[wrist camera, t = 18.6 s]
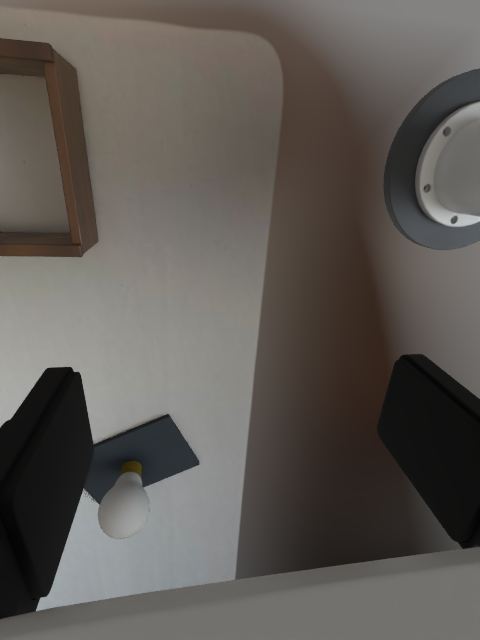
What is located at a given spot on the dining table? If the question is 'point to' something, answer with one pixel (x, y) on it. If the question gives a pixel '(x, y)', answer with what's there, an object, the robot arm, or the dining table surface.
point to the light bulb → (125, 504)
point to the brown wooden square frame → (70, 148)
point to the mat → (140, 456)
